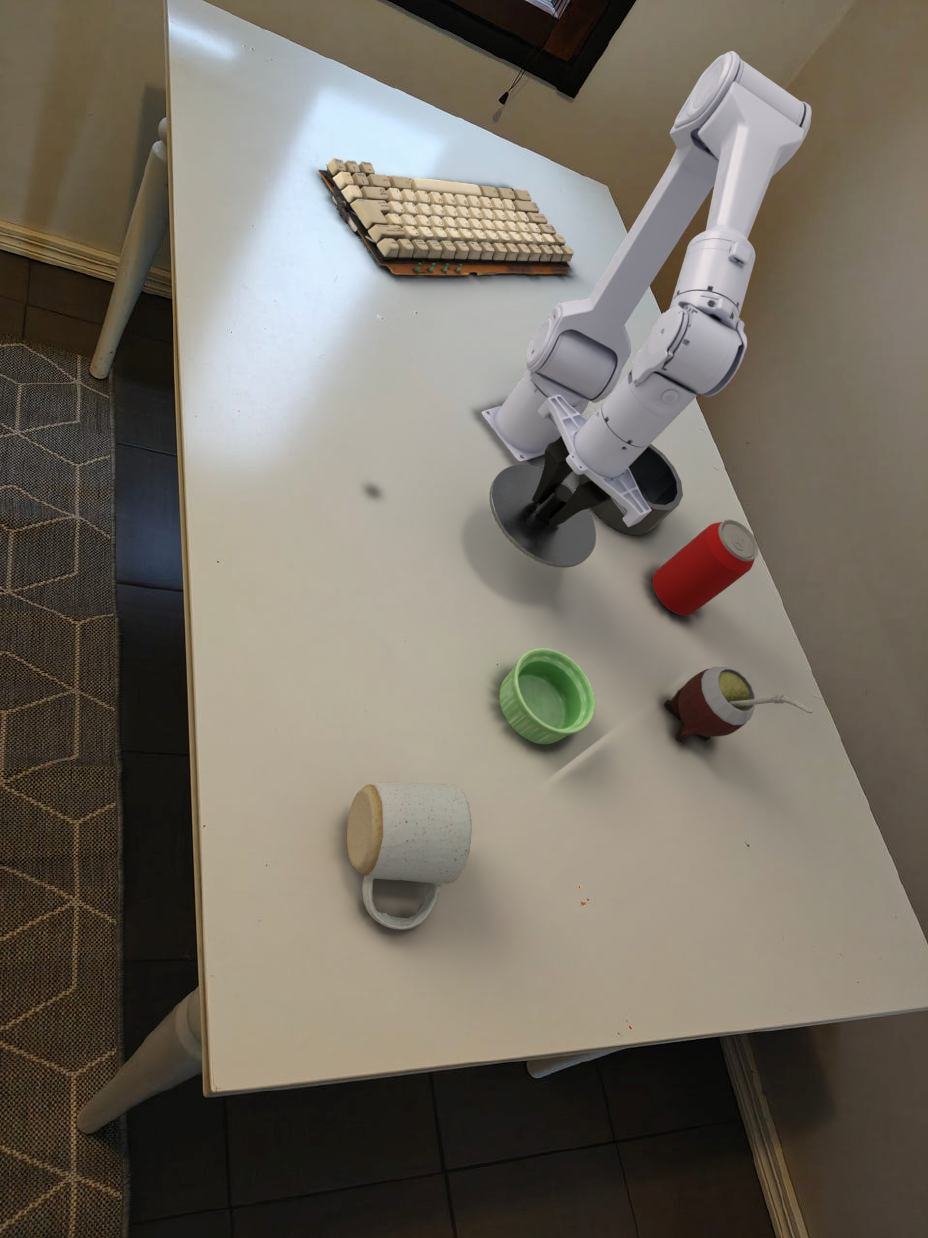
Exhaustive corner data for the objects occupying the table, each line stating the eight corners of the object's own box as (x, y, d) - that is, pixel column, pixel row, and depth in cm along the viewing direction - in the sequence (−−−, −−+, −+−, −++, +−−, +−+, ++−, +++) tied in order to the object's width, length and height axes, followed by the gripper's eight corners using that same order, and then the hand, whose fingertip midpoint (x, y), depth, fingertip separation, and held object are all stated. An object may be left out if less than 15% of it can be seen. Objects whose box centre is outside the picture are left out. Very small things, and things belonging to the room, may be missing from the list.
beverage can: (696, 590, 106) (765, 535, 97) (689, 628, 102) (761, 575, 93) (652, 561, 105) (718, 504, 96) (644, 599, 101) (712, 542, 92)
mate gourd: (671, 680, 96) (767, 613, 85) (723, 725, 96) (826, 665, 85) (650, 724, 91) (750, 660, 80) (706, 772, 91) (813, 714, 80)
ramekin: (476, 705, 81) (499, 685, 78) (519, 651, 87) (542, 630, 84) (545, 769, 81) (571, 751, 78) (584, 711, 87) (609, 692, 84)
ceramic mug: (339, 798, 70) (375, 765, 64) (429, 803, 73) (471, 772, 68) (344, 933, 65) (383, 911, 59) (440, 931, 68) (487, 910, 62)
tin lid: (541, 459, 94) (564, 432, 90) (610, 549, 92) (636, 524, 88) (463, 487, 86) (485, 458, 82) (537, 587, 83) (563, 561, 80)
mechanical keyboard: (510, 188, 137) (520, 170, 134) (573, 276, 132) (585, 259, 130) (310, 174, 113) (319, 151, 110) (379, 280, 108) (390, 259, 106)
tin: (615, 452, 113) (640, 425, 109) (670, 520, 111) (697, 495, 107) (563, 473, 106) (588, 445, 102) (621, 546, 104) (648, 520, 100)
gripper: (553, 369, 76) (480, 464, 86) (653, 495, 74) (566, 578, 84) (598, 357, 81) (525, 449, 91) (694, 476, 78) (607, 557, 88)
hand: (547, 510), depth 87 cm, fingers closed on tin lid, 2 cm apart
